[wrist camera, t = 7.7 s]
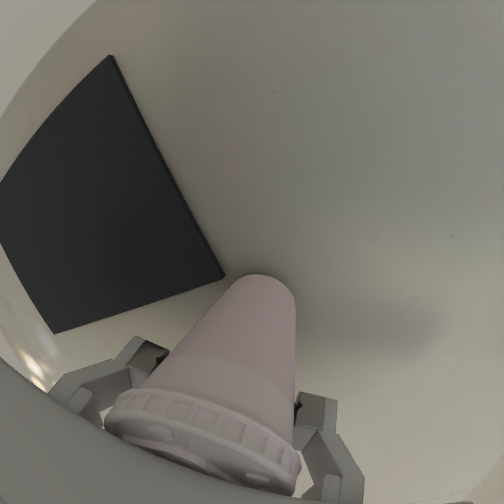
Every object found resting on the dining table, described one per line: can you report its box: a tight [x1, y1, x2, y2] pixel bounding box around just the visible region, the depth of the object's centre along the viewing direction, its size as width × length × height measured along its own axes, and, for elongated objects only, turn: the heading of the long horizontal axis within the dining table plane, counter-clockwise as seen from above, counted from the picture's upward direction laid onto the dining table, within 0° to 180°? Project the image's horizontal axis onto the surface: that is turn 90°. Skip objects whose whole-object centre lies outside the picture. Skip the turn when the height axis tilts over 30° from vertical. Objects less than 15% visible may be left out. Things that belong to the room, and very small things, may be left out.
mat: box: [0, 55, 225, 334], centre depth 18 cm, size 20×14×1 cm
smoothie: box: [104, 274, 302, 497], centre depth 10 cm, size 6×6×14 cm
